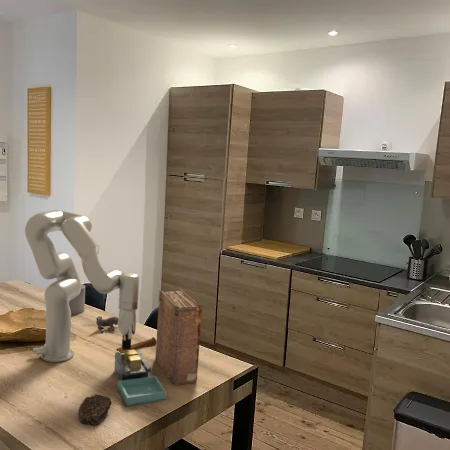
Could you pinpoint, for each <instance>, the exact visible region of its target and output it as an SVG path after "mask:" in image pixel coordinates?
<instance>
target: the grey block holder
mask: <svg viewBox="0 0 450 450" xmlns="http://www.w3.org/2000/svg"><path fill="white" fill-rule="evenodd" d="M135 351H136V352H137V354H138V355H139V356H140V358H141V367H137V368H130V367H129V365H128V362H126V360H125V358H124V355H125V353H124V354H120V353H119V352H114V353H115V354H114V373H115V375H116V376H117V378H118V381H120V380H128V379H135V378H142V377H149V373H153V370H152V366H151V365H150V364H149V362H148V361H147V359H146V358H145V356H144V355H143V353H142V352H141V351H140V350H139V349H136V350H135Z"/></svg>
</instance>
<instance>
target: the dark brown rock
mask: <svg viewBox="0 0 450 450" xmlns="http://www.w3.org/2000/svg"><path fill="white" fill-rule="evenodd" d="M111 405H112V399H111V398H110V396H108V395H106V396H105V395H101V394H97V393H95V394H94V395H91V396H86V397H85V398H84V400H82V403H80V406H79V407H78V411H77V415H78V419H79V421H80V423H82V424H85V425H91V426H95V425H96V426H97V425H98V424H99V423H101V421H102V420H103V419H104V418H105V417H106V416H108V414H109V410H110V409H111Z"/></svg>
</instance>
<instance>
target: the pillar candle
mask: <svg viewBox="0 0 450 450" xmlns="http://www.w3.org/2000/svg"><path fill="white" fill-rule="evenodd" d="M85 304H86V285H84V284H82V283H81V291H80V293H79V295H78V296H76V297H75V298H73V299H71V300H70V301H69V306H70V310H71V315H78V314H82V313H84V312H85V308H86V307H85Z"/></svg>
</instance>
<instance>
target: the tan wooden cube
mask: <svg viewBox="0 0 450 450" xmlns="http://www.w3.org/2000/svg"><path fill="white" fill-rule="evenodd" d="M136 351H137V350H126V351H125V353H124V354H125V355H124V358H125V360H126V362H128V356H135V355H138V354H137V352H136Z"/></svg>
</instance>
